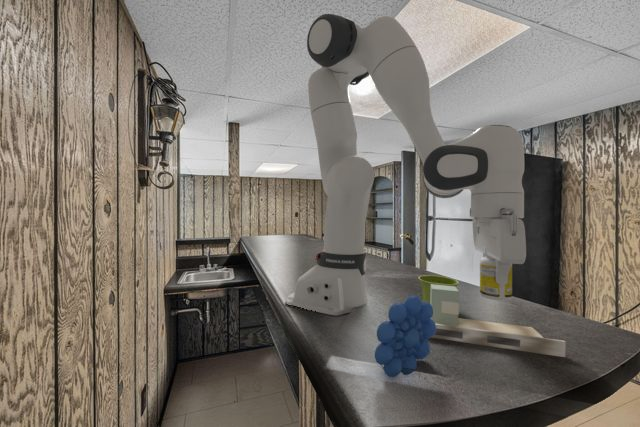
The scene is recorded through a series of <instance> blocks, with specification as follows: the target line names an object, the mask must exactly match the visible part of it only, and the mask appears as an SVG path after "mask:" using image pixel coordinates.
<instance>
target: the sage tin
mask: <svg viewBox="0 0 640 427" xmlns="http://www.w3.org/2000/svg"><path fill="white" fill-rule="evenodd" d="M459 294H460V293H459V290H458V288H457V286H456V287H455V286H444V285H434V284H431V286H430V304H431V306H432V308H433V316H432V317H431V318H430V319H432V320H433V321H434V322H435V323H436V324H444V325H451V326H458V318H459V315H460V302H459V298H460V296H459Z"/></svg>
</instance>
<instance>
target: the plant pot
mask: <svg viewBox="0 0 640 427" xmlns="http://www.w3.org/2000/svg"><path fill="white" fill-rule="evenodd" d="M418 280H419V284H420V286H421V294H422V302H428V303H430V286H431V284H434V285H444V286H455V287H456V288H457V286H458V285H459V283H460V282H459V281H458V280H456V279H454V278H451V277H447V276H443V275H442V276H441V275H433V274H432V275H430V274H429V275H427V274H425V275H420V276H418Z"/></svg>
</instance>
